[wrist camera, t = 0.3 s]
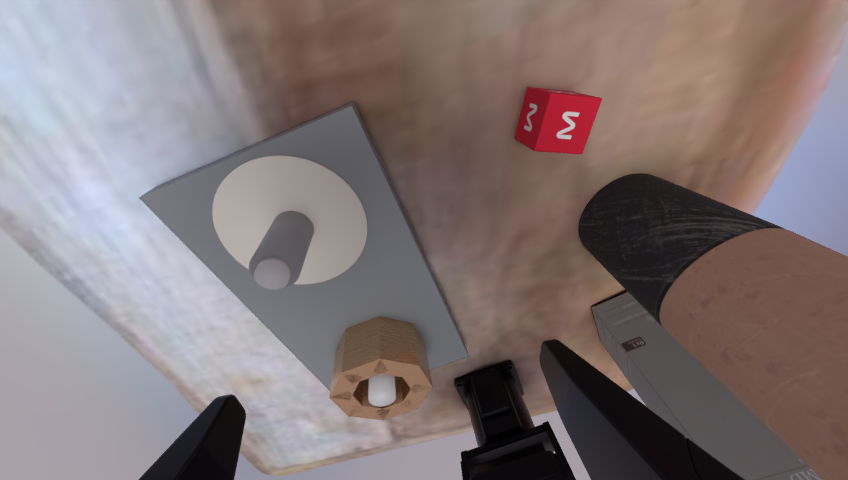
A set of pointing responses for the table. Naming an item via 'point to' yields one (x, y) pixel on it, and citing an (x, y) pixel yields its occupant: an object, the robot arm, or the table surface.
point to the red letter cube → (556, 120)
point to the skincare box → (692, 395)
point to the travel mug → (737, 304)
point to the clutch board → (312, 242)
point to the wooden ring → (380, 367)
